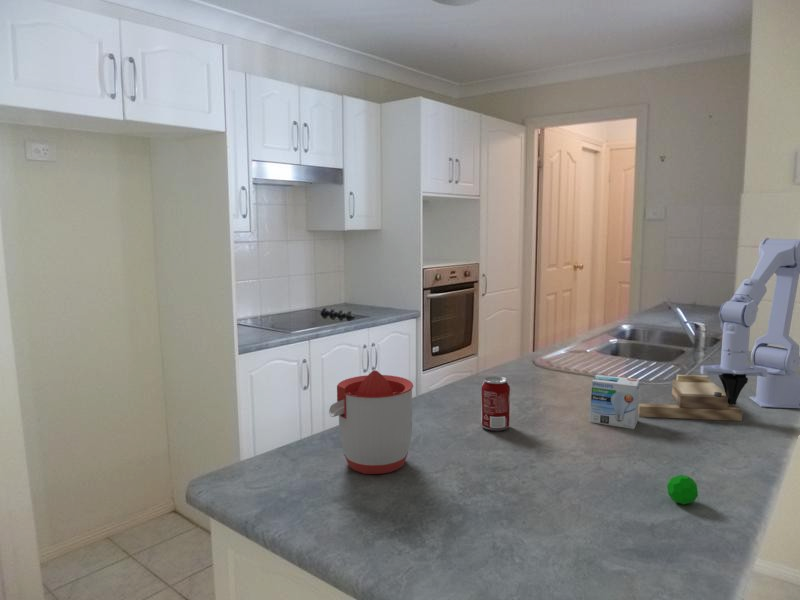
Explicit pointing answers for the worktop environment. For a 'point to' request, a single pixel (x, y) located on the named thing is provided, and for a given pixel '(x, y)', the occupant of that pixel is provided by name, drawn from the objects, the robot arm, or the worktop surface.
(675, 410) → the brown piece
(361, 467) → the citrus juicer
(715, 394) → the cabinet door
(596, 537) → the worktop surface
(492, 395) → the soda can
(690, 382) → the lid
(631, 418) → the light bulb box
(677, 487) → the polyhedron
